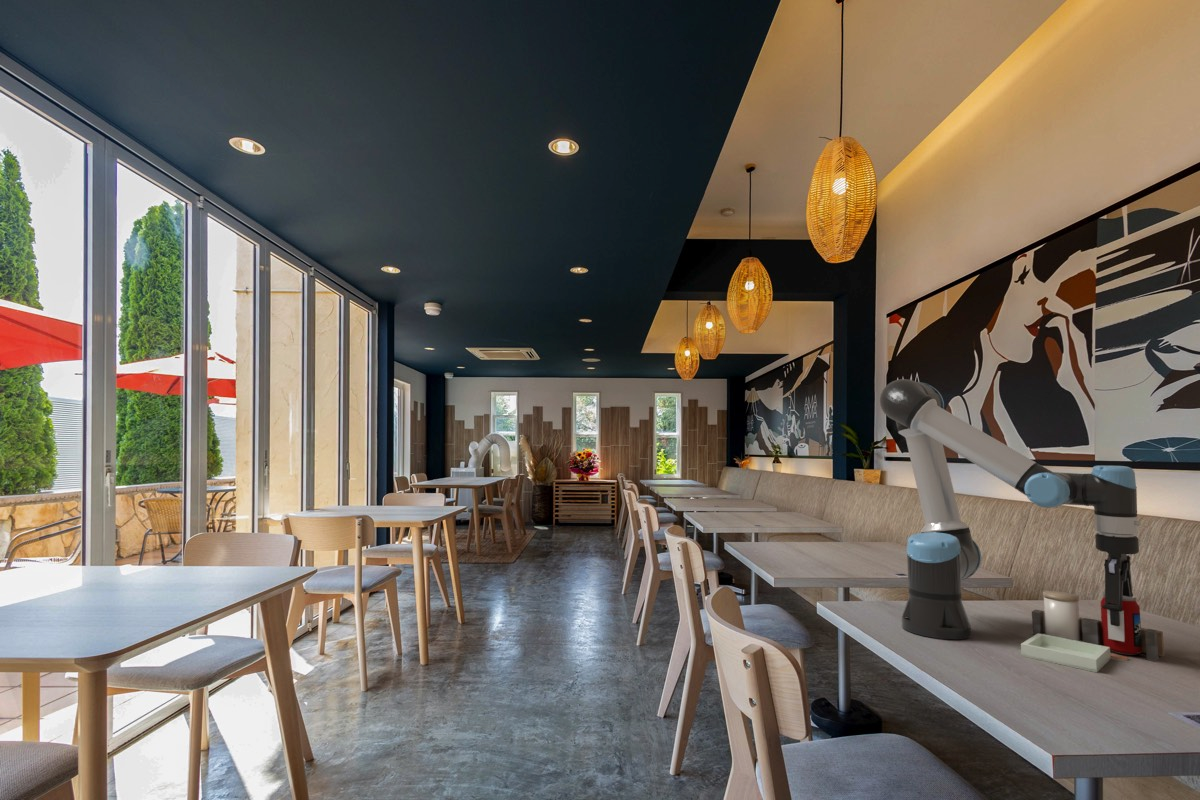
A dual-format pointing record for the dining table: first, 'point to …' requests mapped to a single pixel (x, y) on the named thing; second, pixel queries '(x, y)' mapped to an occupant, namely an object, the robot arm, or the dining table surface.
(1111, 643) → the beverage can
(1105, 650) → the tray
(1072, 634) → the ceramic jar
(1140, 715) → the dining table surface
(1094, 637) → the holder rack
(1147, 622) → the dining table surface
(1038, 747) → the dining table surface
